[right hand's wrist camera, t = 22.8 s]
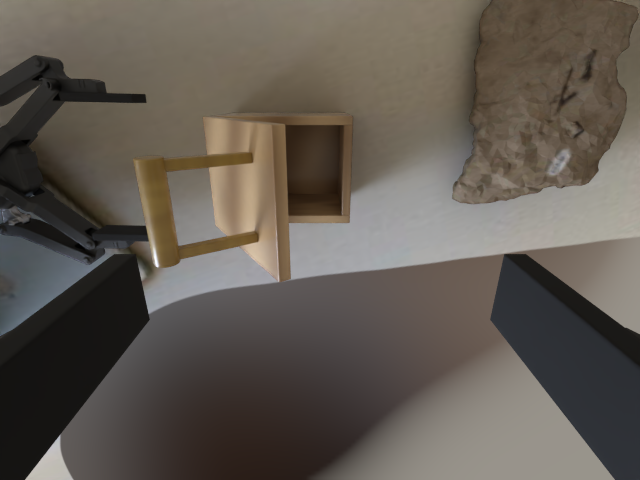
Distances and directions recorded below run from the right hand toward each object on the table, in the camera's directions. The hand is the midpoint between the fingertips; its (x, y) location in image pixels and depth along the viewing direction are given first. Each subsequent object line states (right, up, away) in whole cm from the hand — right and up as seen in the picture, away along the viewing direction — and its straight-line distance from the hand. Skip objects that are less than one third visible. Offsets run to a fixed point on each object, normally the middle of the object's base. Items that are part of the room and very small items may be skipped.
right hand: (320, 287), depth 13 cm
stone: (+23, +17, +27) cm, 39 cm away
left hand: (-17, +9, +23) cm, 30 cm away
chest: (-3, +12, +29) cm, 31 cm away
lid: (-6, +6, +14) cm, 17 cm away
